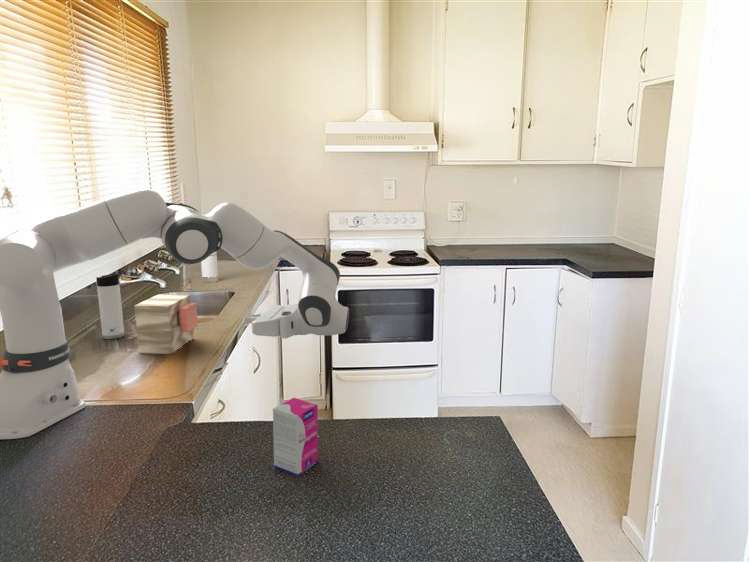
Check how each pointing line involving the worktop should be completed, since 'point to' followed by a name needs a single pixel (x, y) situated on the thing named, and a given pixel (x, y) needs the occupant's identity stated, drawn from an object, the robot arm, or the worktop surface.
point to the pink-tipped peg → (187, 317)
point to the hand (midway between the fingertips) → (246, 318)
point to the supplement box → (295, 436)
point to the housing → (161, 324)
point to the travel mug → (110, 306)
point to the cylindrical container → (210, 266)
